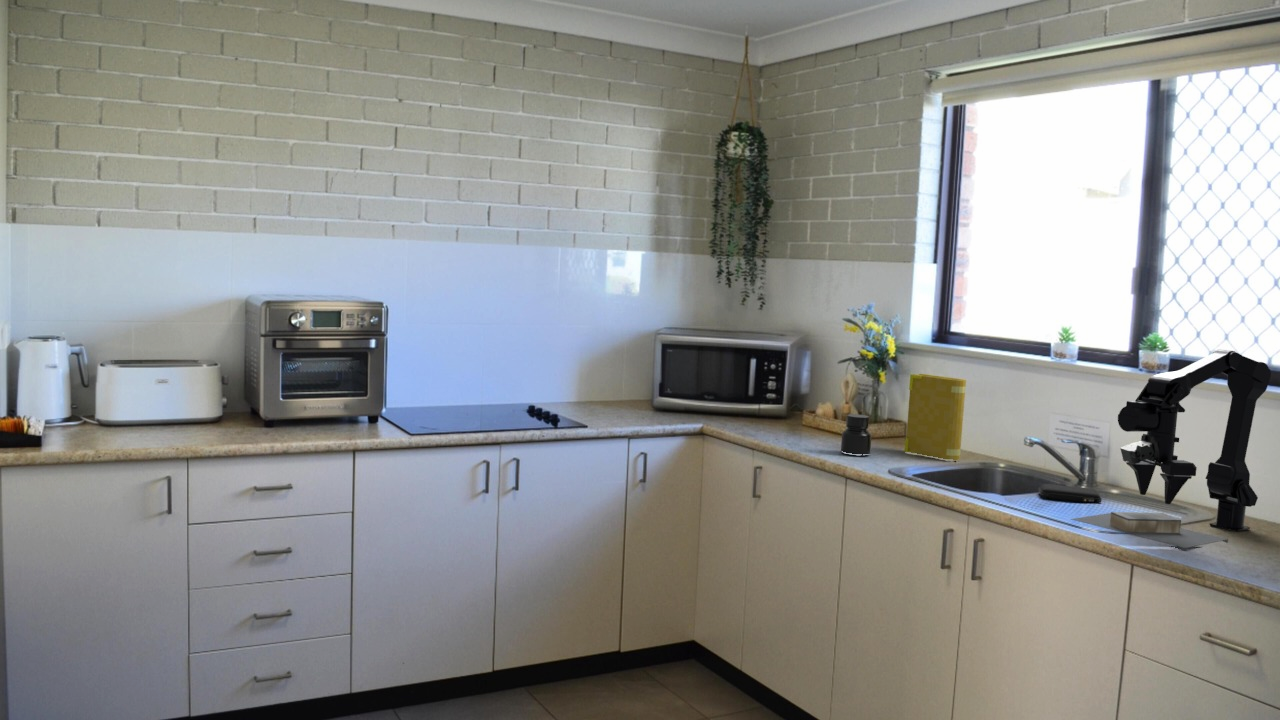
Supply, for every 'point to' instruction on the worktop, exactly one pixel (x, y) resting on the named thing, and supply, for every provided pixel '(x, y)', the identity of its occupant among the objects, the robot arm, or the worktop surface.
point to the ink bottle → (856, 435)
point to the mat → (1180, 540)
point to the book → (935, 416)
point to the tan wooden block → (1145, 522)
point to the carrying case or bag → (1069, 494)
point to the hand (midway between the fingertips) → (1154, 499)
